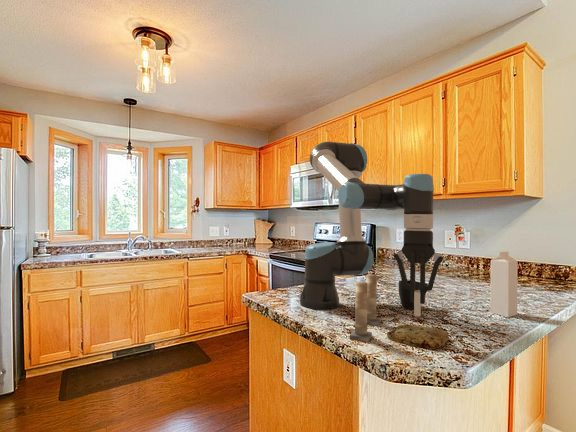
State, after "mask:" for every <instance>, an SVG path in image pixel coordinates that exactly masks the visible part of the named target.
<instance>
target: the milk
mask: <svg viewBox="0 0 576 432" xmlns="http://www.w3.org/2000/svg"><path fill="white" fill-rule="evenodd" d="M518 264H519V263H518V260H516V259H514V258H513V257H512V256H510V255H509V251H500V252H499V256H496V257H494V258H492V259H491V260H490V288H489V289H490V302H489V303H490V307H489V308H490V311H489V312H490V313H491V314H494V315H498V316H503V317H506V318H510V317H514V316H518Z"/></svg>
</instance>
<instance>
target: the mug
mask: <svg viewBox="0 0 576 432" xmlns="http://www.w3.org/2000/svg"><path fill="white" fill-rule="evenodd" d="M407 281H408V284H410V279H409V280H408V279H407ZM425 286H428V283H427V282H425ZM415 290H419V291H420V281H417V280H415ZM427 292H428V291H426V292H425V296H426V295H427ZM398 296H399V300H400V303H401V308H403V309H405V310H412V311H414V303H411V302H410V291H409V290H408V289H406V288H404V287H403V284H402V280H398Z"/></svg>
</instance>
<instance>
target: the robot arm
mask: <svg viewBox="0 0 576 432" xmlns="http://www.w3.org/2000/svg"><path fill="white" fill-rule="evenodd" d="M309 163H310V166H311V167H312V169H313V170H314V171H315V172H316V173H318V174H321V175H323V176H324V177H325V179H326V180H328V182H329V183H330V184H331V186H333V188H335V189H336V191H337V194H338V195H337V196H338V197H337V198H338V213H339V214H338V217H339V239H338V240H337V241H336V243H335V242H331V241H330V242H329V241H326V242H317V243H311V244H309V245H307V246H306V248H305V253H304V285H303V288H302V291H301V294H300V296H299V304H300V305H301V306H303V307H305V308H308V309H315V310H316V309H318V310H328V309H335V308H338V307H339V306H340V297H339V293H338V289H337V286H336V277H342V276H346V277H347V276H361V275H362V276H363V275H367V274H369V271H370V270H371V269H372V266H373V265H374V264H373V263H374V253H373V250H372V248H371V247H370V246H369V245H367V240H366V239H365V238H364V237H363V234H362V233H363V232H362V213H361V209H362V210H364V209H366V210H372V209H373V210H386V211H396V210H403V228H404V229H405V230H404V231H403V246H402V248H401V251H399V252H395V253H394V254H393V258H394V260H395V261H396V262H397V266H398V270H399V274H400V279H401V280H400V281H402V284H403V287H404V288H406V289H408V290H409V291H410V302H411V303H414V310H413V316H415V317H421V307H422V305H425V303H426V295H425V292H426V291H427V292H431V291H432V290H433V287H434V285H435V281H436V277H437V274H438V270H439V267H440V265H441V263H442V262H443V261H444V256H443V255H441V254H438V253H437V252H436V250H435V249H434V232H433V231H432V229H434V191H435V188H434V179H433V176H432V175H431V174H428V173H411V174H407V175H405V177H404V180H403V183H402V184H376V183H365V182H364V181H363V180H362V179H360V178H361V176H362V175H363V172H365V170H366V169H367V164H368V154H367V151H366V149H365V148H364V146H362V145H360V144H356V143H351V142H350V143H349V142H339V141H338V142H337V141H335V142H334V141H322V142H320V143H318V144H316V145H315V146H314V147H313V148H312V150H311V152H310V155H309ZM404 257H405V258H406V260H407V261H408V262H409V280H410V284H408V281H407V280H408V277H407V274H406V270H405V269H406V268H405V265H404V261H403V259H404ZM432 257H433V258H432ZM431 258H432V260H433V262H434V263H433V266H432V270H431V272H430V277H429V280H428V283H427V284H428V286H425V283H426V264H427V263H428V262H429V261H430V260H431ZM416 264H419V271H420V272H419V282H420V291H419V290H415V281H416Z"/></svg>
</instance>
